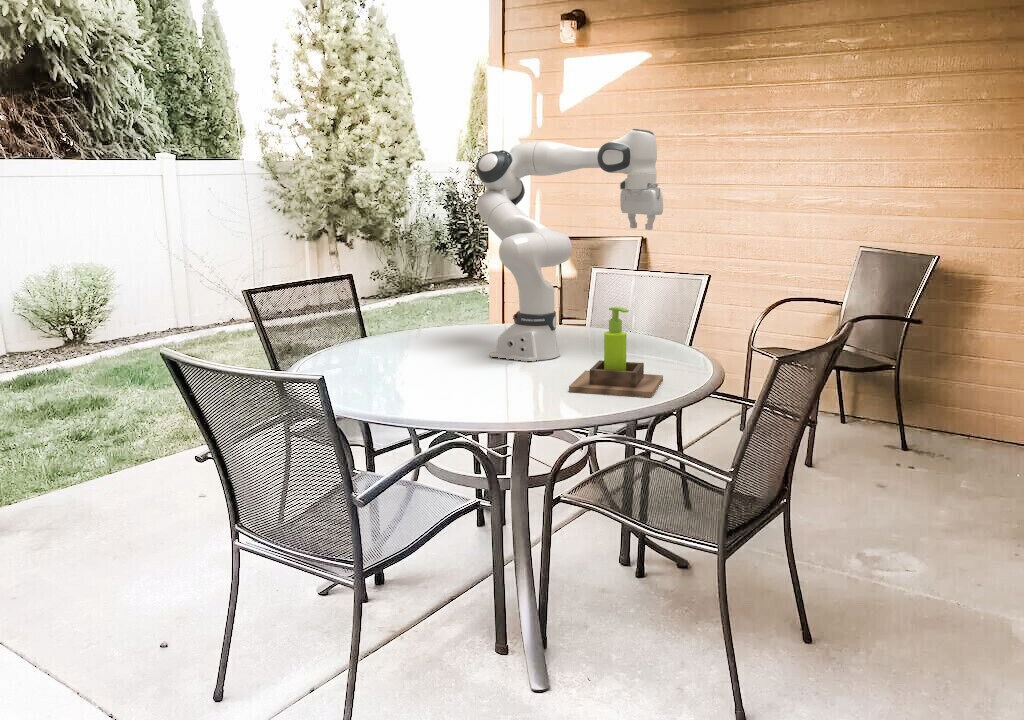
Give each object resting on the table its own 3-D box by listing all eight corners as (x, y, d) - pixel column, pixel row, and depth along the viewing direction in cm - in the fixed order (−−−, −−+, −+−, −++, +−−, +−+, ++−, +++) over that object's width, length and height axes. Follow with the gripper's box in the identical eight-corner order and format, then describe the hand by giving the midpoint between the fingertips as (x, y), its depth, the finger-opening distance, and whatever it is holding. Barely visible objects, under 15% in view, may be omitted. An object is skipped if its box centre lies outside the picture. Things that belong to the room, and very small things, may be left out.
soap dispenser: (618, 385, 206) (619, 310, 202) (599, 380, 211) (599, 307, 207) (633, 381, 210) (634, 307, 205) (614, 376, 215) (614, 304, 211)
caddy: (568, 391, 206) (568, 371, 205) (585, 375, 223) (585, 356, 222) (652, 397, 199) (652, 376, 198) (662, 380, 216) (663, 361, 214)
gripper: (668, 183, 232) (667, 230, 235) (634, 183, 250) (633, 227, 253) (650, 183, 229) (649, 231, 233) (616, 183, 248) (616, 227, 251)
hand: (641, 229), depth 243 cm, fingers open, 8 cm apart
